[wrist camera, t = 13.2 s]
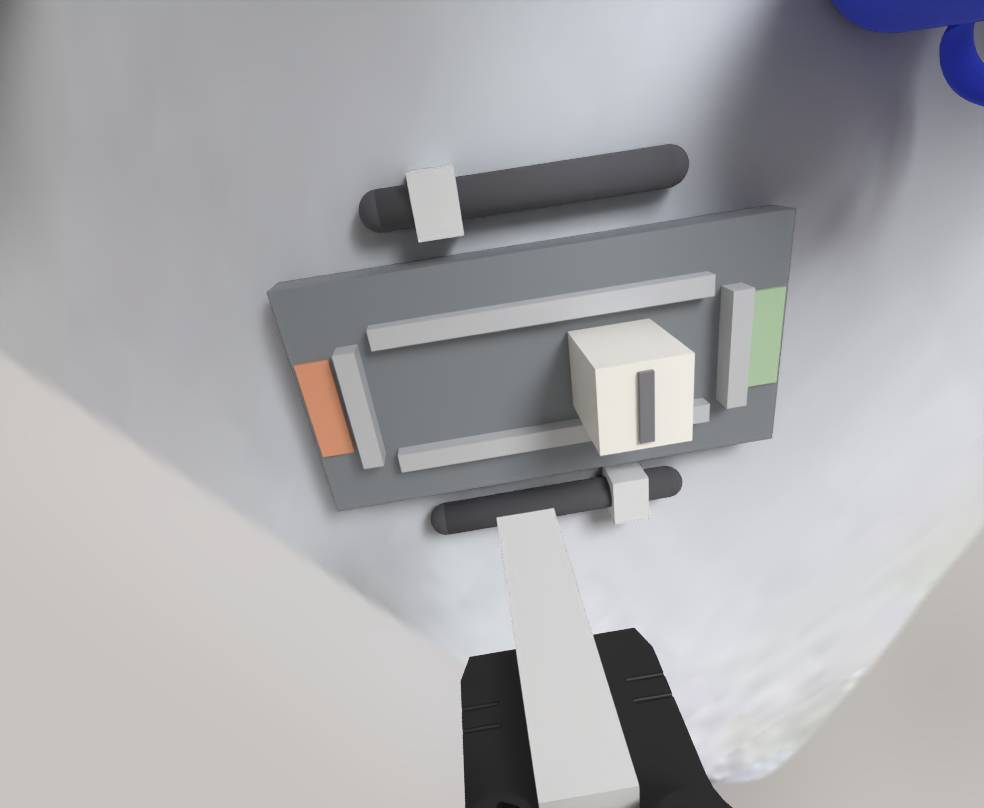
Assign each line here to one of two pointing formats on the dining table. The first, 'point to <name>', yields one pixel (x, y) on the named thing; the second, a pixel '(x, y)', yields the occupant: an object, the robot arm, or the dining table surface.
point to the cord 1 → (515, 189)
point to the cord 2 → (567, 498)
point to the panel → (528, 350)
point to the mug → (928, 4)
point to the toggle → (632, 385)
